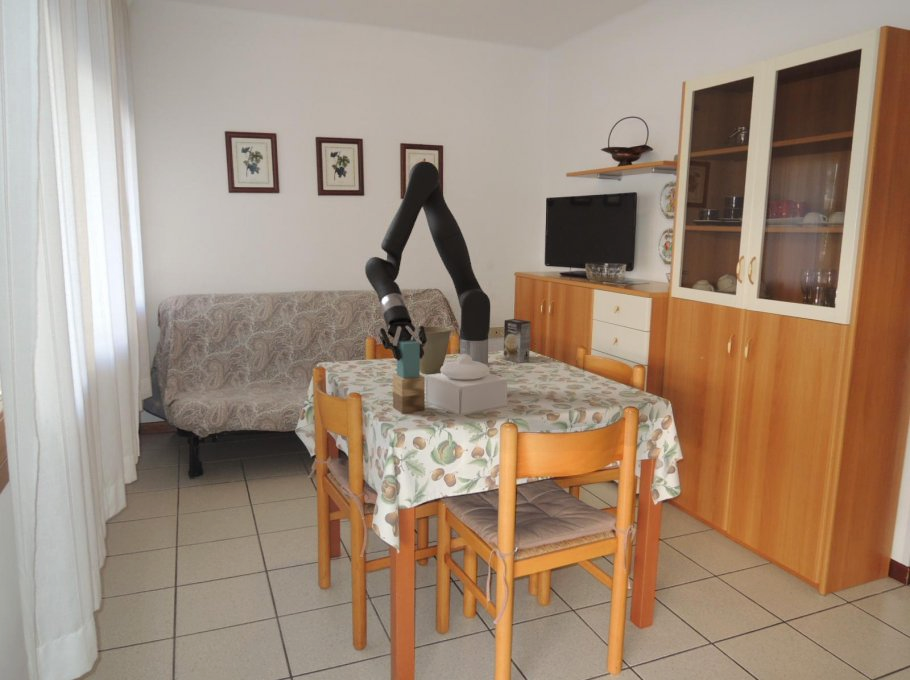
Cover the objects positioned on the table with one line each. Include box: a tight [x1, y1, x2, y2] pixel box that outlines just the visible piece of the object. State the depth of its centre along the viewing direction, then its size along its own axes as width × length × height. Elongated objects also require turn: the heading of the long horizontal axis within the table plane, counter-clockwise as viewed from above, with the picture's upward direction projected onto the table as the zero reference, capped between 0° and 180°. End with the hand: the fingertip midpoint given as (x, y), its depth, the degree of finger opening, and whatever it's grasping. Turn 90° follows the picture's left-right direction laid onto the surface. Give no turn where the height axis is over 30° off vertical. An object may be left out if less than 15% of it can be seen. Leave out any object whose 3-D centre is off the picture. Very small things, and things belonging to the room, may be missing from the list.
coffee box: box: [502, 318, 532, 364], centre depth 267 cm, size 9×6×16 cm
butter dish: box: [425, 354, 509, 417], centre depth 201 cm, size 18×18×16 cm
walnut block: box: [392, 391, 426, 415], centre depth 196 cm, size 7×7×5 cm
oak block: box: [392, 373, 426, 397], centre depth 196 cm, size 7×7×5 cm
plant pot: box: [411, 325, 452, 375], centre depth 245 cm, size 15×15×16 cm
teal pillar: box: [396, 340, 421, 378], centre depth 194 cm, size 5×5×10 cm
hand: (410, 358), depth 193 cm, fingers open, 6 cm apart
